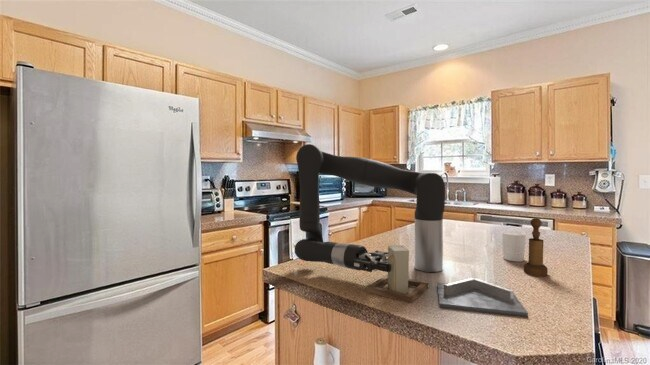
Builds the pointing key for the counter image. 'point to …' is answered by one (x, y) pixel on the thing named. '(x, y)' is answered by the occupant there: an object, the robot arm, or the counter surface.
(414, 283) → the square wooden frame
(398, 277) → the skincare box
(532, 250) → the mortar and pestle
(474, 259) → the counter surface
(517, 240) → the white cup
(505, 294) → the grey corner stand
